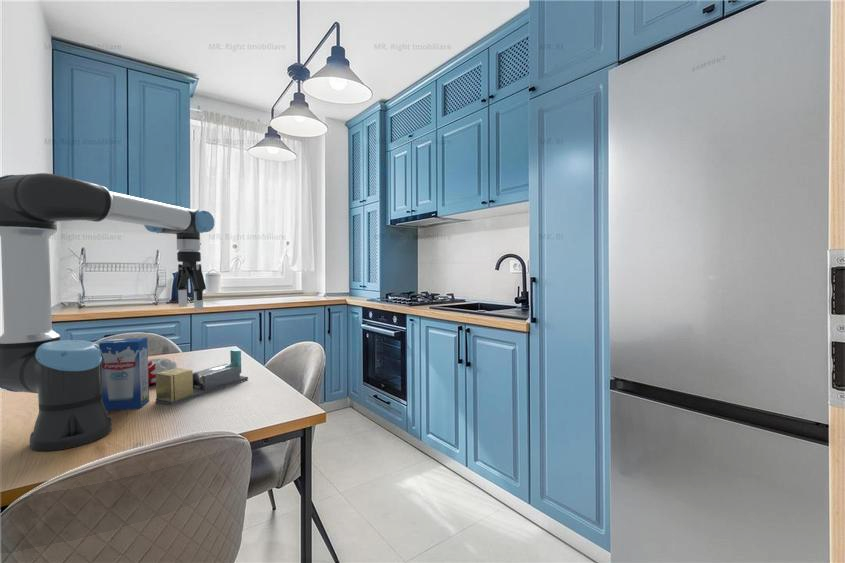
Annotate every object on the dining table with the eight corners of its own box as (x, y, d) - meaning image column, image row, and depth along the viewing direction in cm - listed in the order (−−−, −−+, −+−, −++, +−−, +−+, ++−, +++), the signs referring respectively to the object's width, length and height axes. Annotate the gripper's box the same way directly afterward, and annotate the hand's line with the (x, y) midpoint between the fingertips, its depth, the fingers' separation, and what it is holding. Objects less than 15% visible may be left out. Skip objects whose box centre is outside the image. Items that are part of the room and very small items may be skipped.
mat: (172, 405, 118) (172, 402, 118) (155, 401, 121) (155, 398, 121) (247, 379, 145) (247, 376, 145) (232, 377, 148) (232, 374, 148)
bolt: (203, 385, 130) (203, 359, 130) (195, 383, 132) (194, 358, 131) (241, 373, 144) (241, 350, 144) (233, 372, 146) (233, 349, 145)
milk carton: (101, 411, 113) (98, 343, 112) (111, 404, 119) (109, 339, 118) (141, 408, 116) (138, 341, 115) (149, 401, 122) (147, 337, 121)
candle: (179, 376, 147) (151, 394, 132) (149, 376, 147) (118, 394, 132) (177, 353, 145) (148, 369, 131) (147, 353, 146) (115, 368, 131)
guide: (171, 401, 118) (171, 375, 118) (156, 398, 121) (155, 373, 121) (239, 379, 142) (239, 357, 141) (225, 377, 144) (225, 355, 144)
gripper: (215, 250, 141) (216, 309, 142) (185, 251, 156) (187, 304, 157) (192, 250, 135) (194, 311, 136) (164, 251, 150) (166, 306, 151)
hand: (190, 308), depth 147 cm, fingers open, 13 cm apart
